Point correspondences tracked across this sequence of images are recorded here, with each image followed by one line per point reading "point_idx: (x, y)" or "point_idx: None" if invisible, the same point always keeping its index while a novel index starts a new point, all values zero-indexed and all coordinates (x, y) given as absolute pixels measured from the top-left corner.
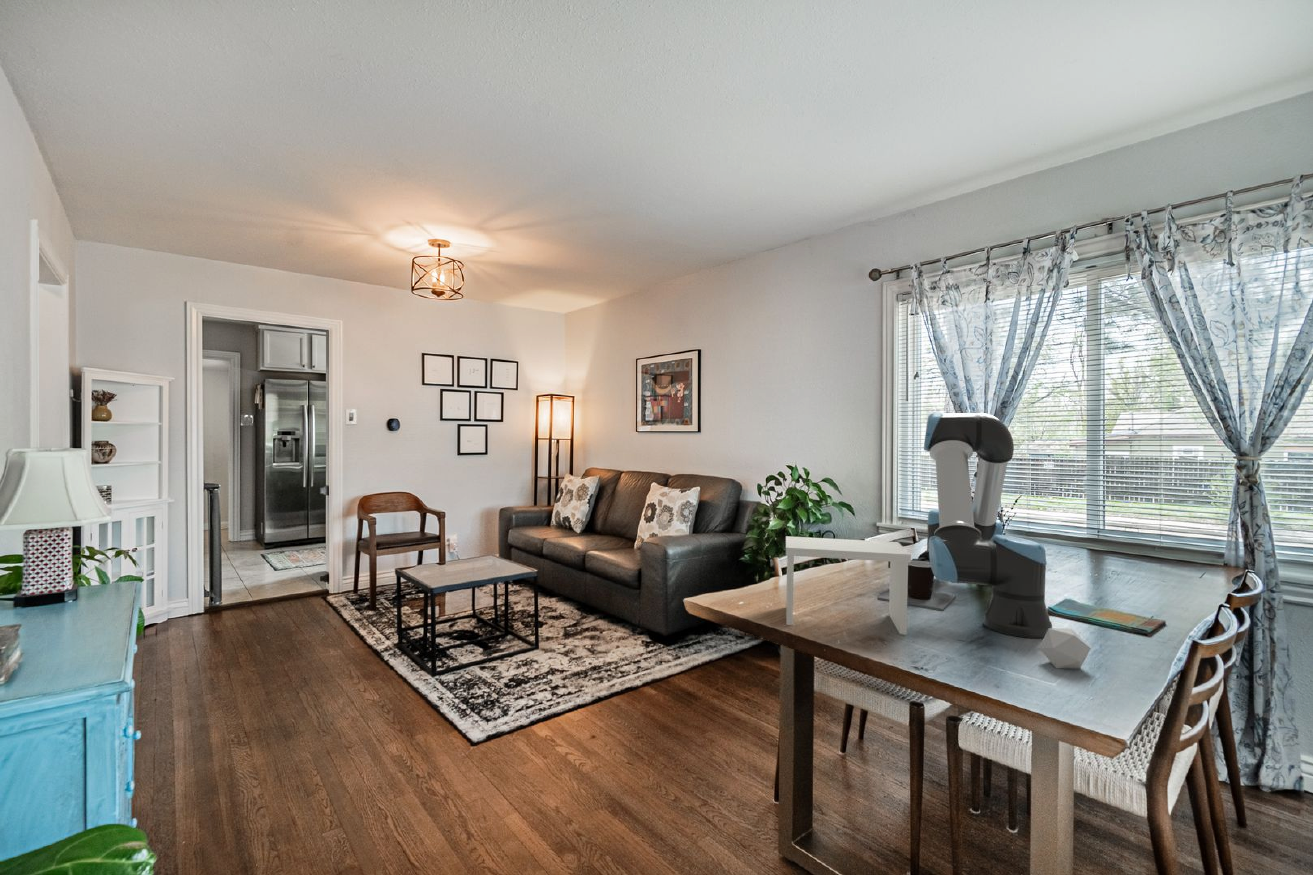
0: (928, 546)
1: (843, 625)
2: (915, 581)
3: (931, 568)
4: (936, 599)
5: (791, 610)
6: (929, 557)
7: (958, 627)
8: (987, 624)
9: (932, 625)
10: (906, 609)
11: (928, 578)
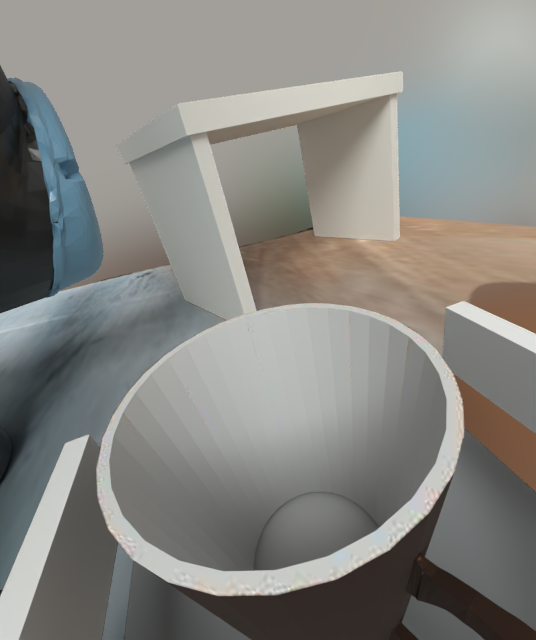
0: (67, 137)
1: (275, 264)
2: (277, 409)
3: (102, 243)
4: (215, 629)
5: (312, 214)
6: (89, 198)
7: (97, 383)
8: (5, 433)
9: (155, 350)
10: (169, 258)
11: (196, 440)
